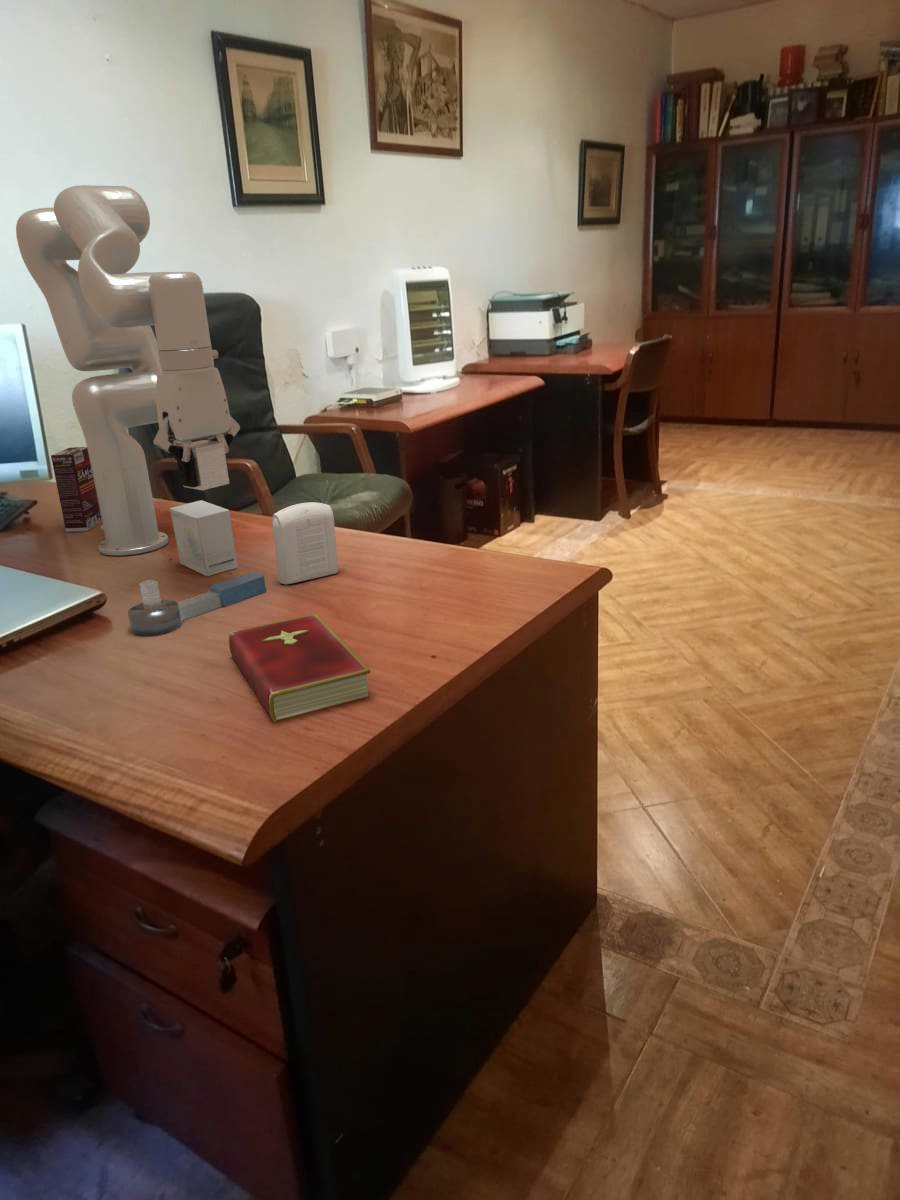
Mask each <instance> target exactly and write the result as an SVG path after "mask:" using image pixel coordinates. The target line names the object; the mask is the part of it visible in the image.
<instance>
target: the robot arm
mask: <svg viewBox="0 0 900 1200" xmlns="http://www.w3.org/2000/svg"><path fill="white" fill-rule="evenodd" d="M150 219H151V217H150V212H149V207H148V205H147V204H146V202H145V199H144V198H143V197H142V196H141V194H140V193H138V192H137V191H136V190H135V189H133V188H132V187H128V186H125V185H124V186H123V185H91V184H90V185H89V184H88V185H85V184H84V185H73V186H69V187H66V188H64V189H63V190H62V191H60V192H59V193H58V195H57V196H56V197H55V200H54V203H53V206H52V207H40V208H35V209H32V210H31V209H30V210H27V211H26V212H24V213H21V215H20V216H19V217H18V219H17V221H16V226H15V231H16V232H15V234H16V235H15V236H16V240H17V246H18V249H19V253H20V255H21V258H22V261H23V263H24V264H25V265H24V266H25V267H26V269H27V271H28V272H29V275H30V276H31V277H32V279H33V281H34V282H35V283H36V285H37V287H38V288H39V289H40V291H41V293H42V295H43V296H44V298H45V300H46V303H47V305H48V308H49V311H50V315H51V317H52V320H53V323H54V326H55V329H56V333H57V335H58V338H59V341H60V344H61V346H62V349H63V351H64V355H65V357H66V359H67V360H68V363H69V364H70V366H72V368H73V369H75V370H77V371H80V372H98V371H109V370H119V369H126V368H127V369H130V370H131V371H130V372H122V373H121V372H120V373H110V374H102V375H94V376H91V377H87V378H84V379H82V380H81V381H79V382H78V383H77V384H76V385H75V386H74V387H73V389H72V393H71V401H72V406H73V409H74V411H75V415H76V417H77V420H78V422H79V425H80V428H81V431H82V433H83V437H84V440H85V445H86V447H87V449H88V453H89V458H90V463H91V468H92V472H93V478H94V483H95V488H96V493H97V498H98V503H99V508H100V513H101V518H102V522H101V525H100V529H101V530H102V531H104V532H103V533H104V537H105V539H103V540H101V541H100V542H99V544H98V547H97V548H98V551H99V553H101V554H102V555H106V556H117V557H118V556H133V555H138V554H144V553H149V552H152V551H155V550H158V549H160V548H162V547H164V546H166V545H167V544H168V542H169V536H168V534H167V533H165V532H163V531H162V532H161V531H159V529H158V522H157V517H156V510H155V505H154V499H153V493H152V487H151V481H150V477H149V470H148V464H147V461H146V460H147V459H146V455H145V452H144V450H143V447H142V446H141V444H140V443H139V442H138V441H137V440H136V439H135V438H134V437H133V436H132V435H130V434H129V433H128V431H127V429H128V428H129V429H130V428H133V427H138V426H145V425H151V424H156V423H157V424H158V428H159V429H158V431H157V433H156V435H155V437H154V439H153V445H155V446H156V447H157V448H159V449H161V450H162V451H164V452H165V453H166V454H167V455H169V456H170V457H171V458H172V459H173V460H174V461H175V462H176V463H177V468H178V473H179V474H178V475H179V480H180V482H181V484H182V486H187V487H192V488H194V487H197V479H196V473H195V467H194V462H193V461H190V451H191V443H192V442H194V441H199V440H202V439H203V440H204V439H207V440H209V441H217V442H224V449H225V456H226V463H227V470H228V471H229V468H228V467H229V466H228V465H229V464H228V459H227V454H228V453H229V450H230V445H231V444H232V442H233V441H234V437H235V436H236V435H237V434H238V432H239V431H240V430H241V425H240V424H239V423H238V422H237V421H236V420H235V418H233V417H232V415H230V408H229V403H228V399H227V395H226V390H225V387H224V384H223V381H222V378H221V377H222V376H221V373H220V371H219V370H218V368H217V367H215V362H214V360H215V359H216V360H217V359H218V358H219V351H218V350H217V349H213V347H212V342H211V337H210V336H211V335H210V328H209V321H208V316H207V315H208V314H207V308H206V301H205V293H204V288H203V282H202V279H201V278H200V276H199V274H197V273H195V272H192V271H155V272H152V271H151V272H149V271H148V272H146V271H145V272H130V271H131V270H132V269H133V267H134V266H135V265H136V264H137V262H138V260H139V258H140V253H141V244H140V243H142V242H143V241H144V239H145V238H146V237H147V235H148V234H149V231H150V225H151V220H150ZM67 261H78V264H77V265H78V266H77V269H75V268H74V267H73V266H71V265H69V263H68V262H67ZM151 326H153V327H154V331H153V329H152V327H151ZM154 332H155V333H154ZM171 440H172V441H173V443H171V442H170V441H171ZM187 487H186V488H187ZM192 488H191V489H192Z"/></svg>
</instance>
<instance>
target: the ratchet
mask: <svg viewBox="0 0 900 1200" xmlns="http://www.w3.org/2000/svg"><path fill="white" fill-rule="evenodd" d="M139 588H140V593H141V599H142V603H138V604H136V605H134V606H132V607H130V608H129V609H128V610H127V617H128V621H129V627H130V631H131V633H132V634H133V635H135V636H138V637H151V636H161V635H164V634H168V633H170V632H173V631H175V630H177V629H178V628H180V626H181V625H182V622H183V621H185V620H186V621H187V620H189V619H191V618H193V617H196V616H199V615H202V614H204V613H208V612H210V611H214V610H215V609H219V608H221V607H227V606H230V605H232V604H235V603H238V602H242V601H244V600H247V599H250V598H252V597H255V596H258V595H260V594H264V593H266V592H267V586H266V581H265V575H263V574H259V573H255V572H249V573H246V574H243V575H241V576H237V577H234V578H232V579H228V580H225V581H222V582H219V583H217V584H213V585H210V586H208V588H209V591H207V592H204V593H201V594H199V595H195V596H193V597H190V598H186V599H184V600H181V601H178V602H177V601H175V600H172V599H171V600H170V599H161V594H160V589H159V582H158V581H156V580H153V579H147V580H144V581H141V582H139Z"/></svg>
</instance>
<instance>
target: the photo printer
mask: <svg viewBox="0 0 900 1200" xmlns="http://www.w3.org/2000/svg"><path fill="white" fill-rule="evenodd" d="M271 523H272V532H273V535H272V536H273V543H274V549H275V550H274V552H275V559H276V567H277V577H278V581H279V583H280V584H282V585H290V584H296V583H300V582H305V581H308V580H313V579H317V578H321V577H322V578H323V577H326V576H330V575H334V574H337V573H338V572H339V564H338V562H339V561H338V551H337V540H336V530H335V518H334V513H333V509H332V508H331V505H329V504H327V503H322V502H315V501H314V502H312V501H311V502H301V503H296V504H293V505H290V506H287V507H285V508H283V509H280V510H279V511H277V512H275V513H273V514H272V519H271Z"/></svg>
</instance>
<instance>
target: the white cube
mask: <svg viewBox="0 0 900 1200" xmlns="http://www.w3.org/2000/svg"><path fill="white" fill-rule="evenodd" d="M226 458H227V455H226V456H225V449H224V442H217V441H209V440H208V439H203V440H202V439H200V440H195V441H191V451H190V461H193V462H194V467H195V473H196V479H197V487H194V488H192V487H187V486H183V485H182V486H183V488H187V489H193V490H198V491H205V490H209V489H210V490H211V489H213V488H219V487H221V486H222V487H223V486H226V485H229V484H230V478H229V469H228V470H227V465H228V462H227V463H226Z"/></svg>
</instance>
